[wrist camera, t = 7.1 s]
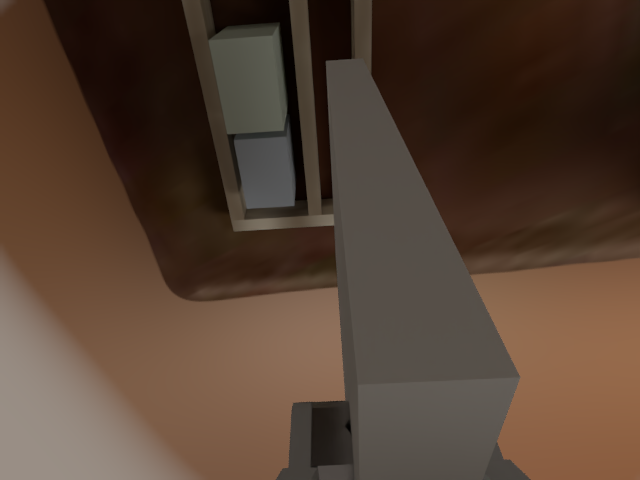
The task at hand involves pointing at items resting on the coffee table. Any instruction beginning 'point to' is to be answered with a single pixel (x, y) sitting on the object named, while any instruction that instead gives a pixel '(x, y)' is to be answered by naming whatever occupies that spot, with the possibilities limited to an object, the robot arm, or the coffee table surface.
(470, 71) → the coffee table surface
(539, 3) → the coffee table surface
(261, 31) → the sage offcut
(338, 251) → the tall board
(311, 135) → the birch rack
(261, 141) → the slate offcut
